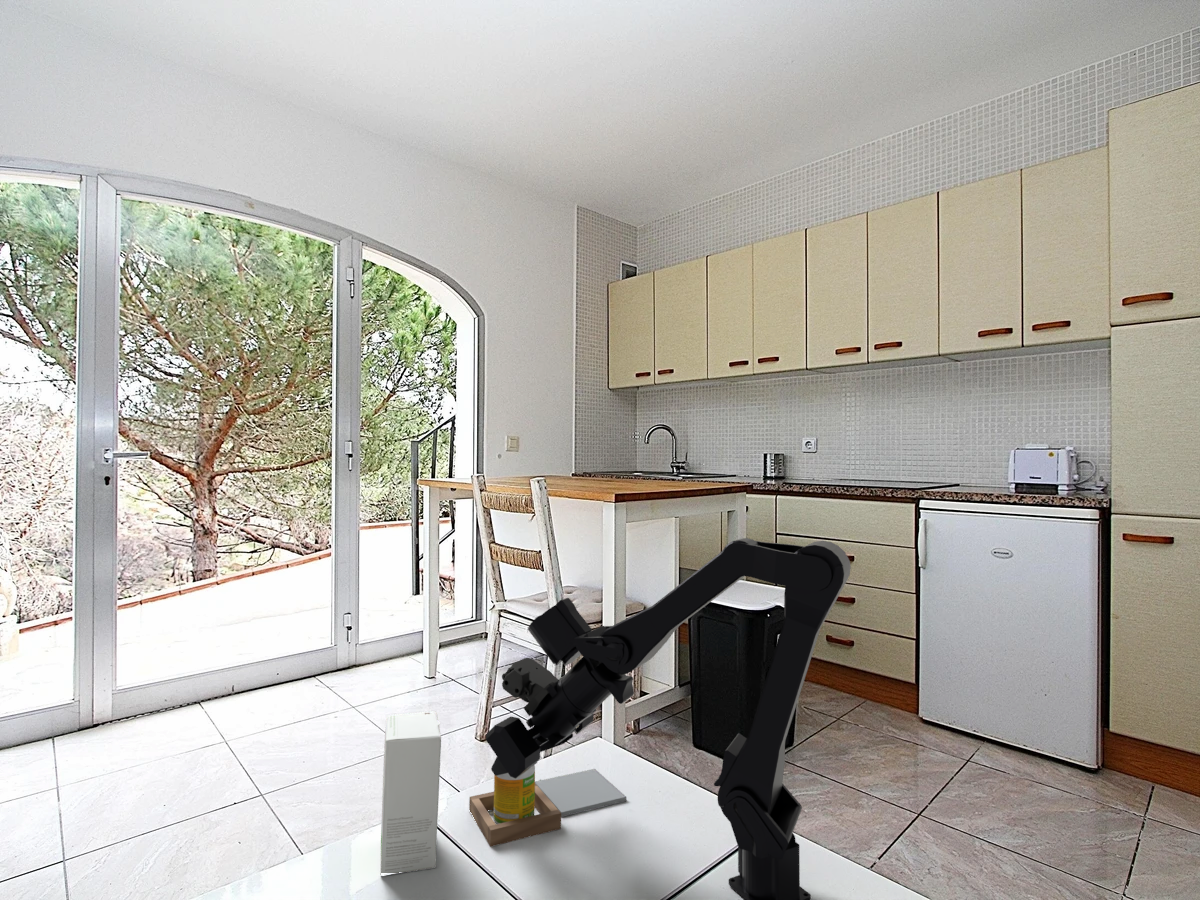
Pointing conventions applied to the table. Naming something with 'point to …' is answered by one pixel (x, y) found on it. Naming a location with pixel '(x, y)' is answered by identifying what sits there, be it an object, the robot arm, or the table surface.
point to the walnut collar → (516, 828)
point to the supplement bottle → (514, 796)
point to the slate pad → (580, 792)
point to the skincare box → (410, 792)
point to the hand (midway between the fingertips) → (506, 763)
